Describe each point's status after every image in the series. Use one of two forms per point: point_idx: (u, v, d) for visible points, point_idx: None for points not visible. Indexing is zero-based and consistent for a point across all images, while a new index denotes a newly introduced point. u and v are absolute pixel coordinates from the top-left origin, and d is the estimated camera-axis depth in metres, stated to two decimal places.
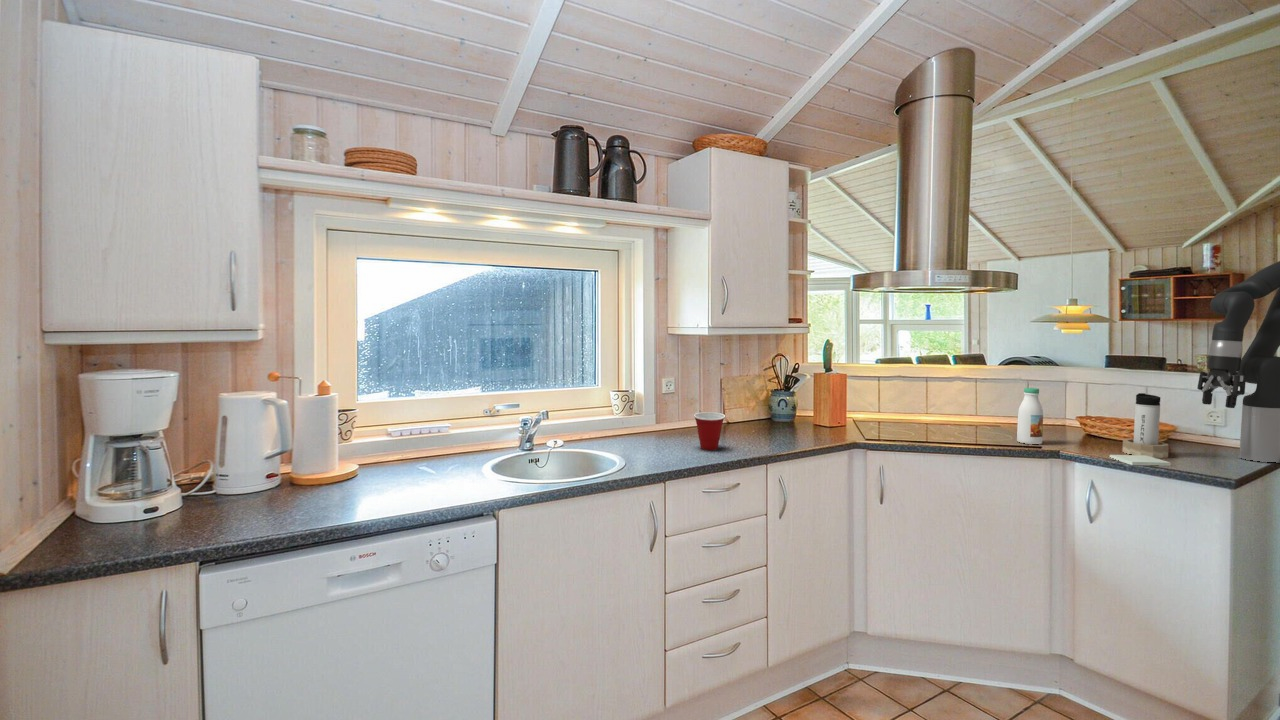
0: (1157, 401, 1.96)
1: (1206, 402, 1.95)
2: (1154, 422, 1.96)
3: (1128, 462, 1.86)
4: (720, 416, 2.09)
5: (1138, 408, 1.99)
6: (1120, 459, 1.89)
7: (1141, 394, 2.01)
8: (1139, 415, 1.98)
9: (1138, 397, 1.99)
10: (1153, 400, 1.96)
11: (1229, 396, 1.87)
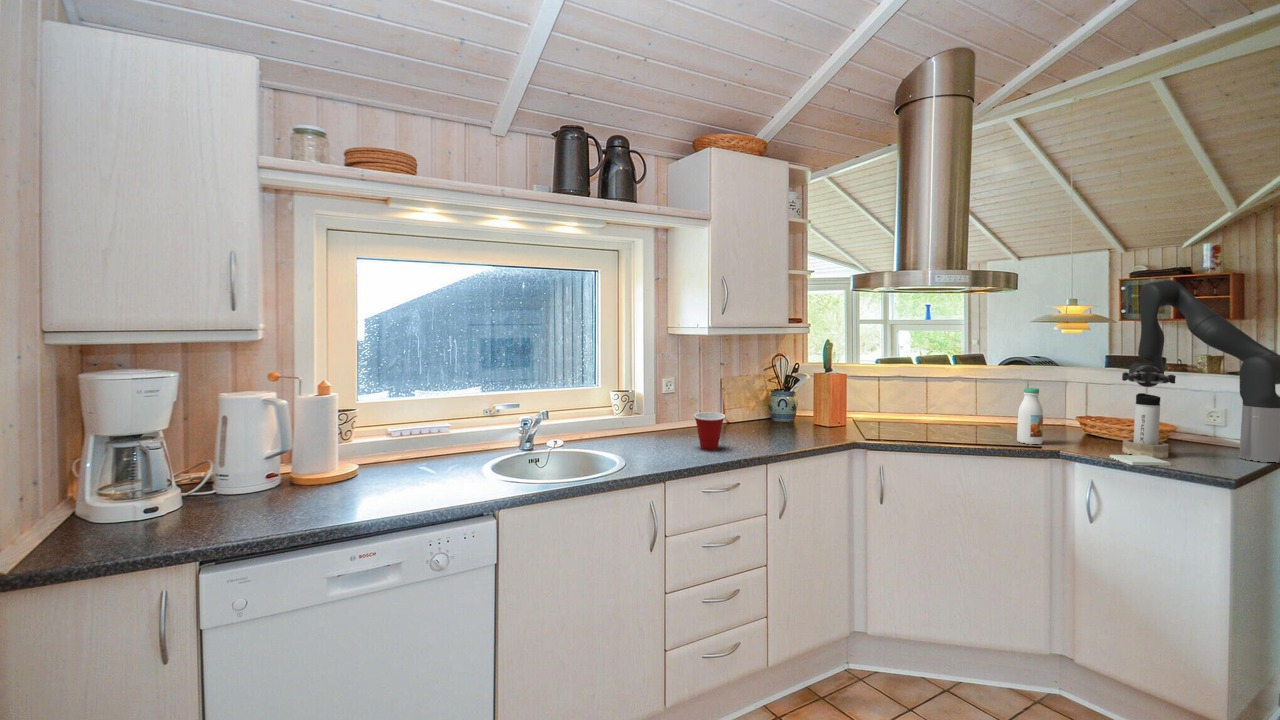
0: (1157, 401, 1.96)
1: (1163, 381, 2.05)
2: (1154, 422, 1.96)
3: (1128, 462, 1.86)
4: (720, 416, 2.09)
5: (1138, 408, 1.99)
6: (1120, 459, 1.89)
7: (1141, 394, 2.01)
8: (1139, 415, 1.98)
9: (1138, 397, 1.99)
10: (1153, 400, 1.96)
11: (1130, 380, 2.12)
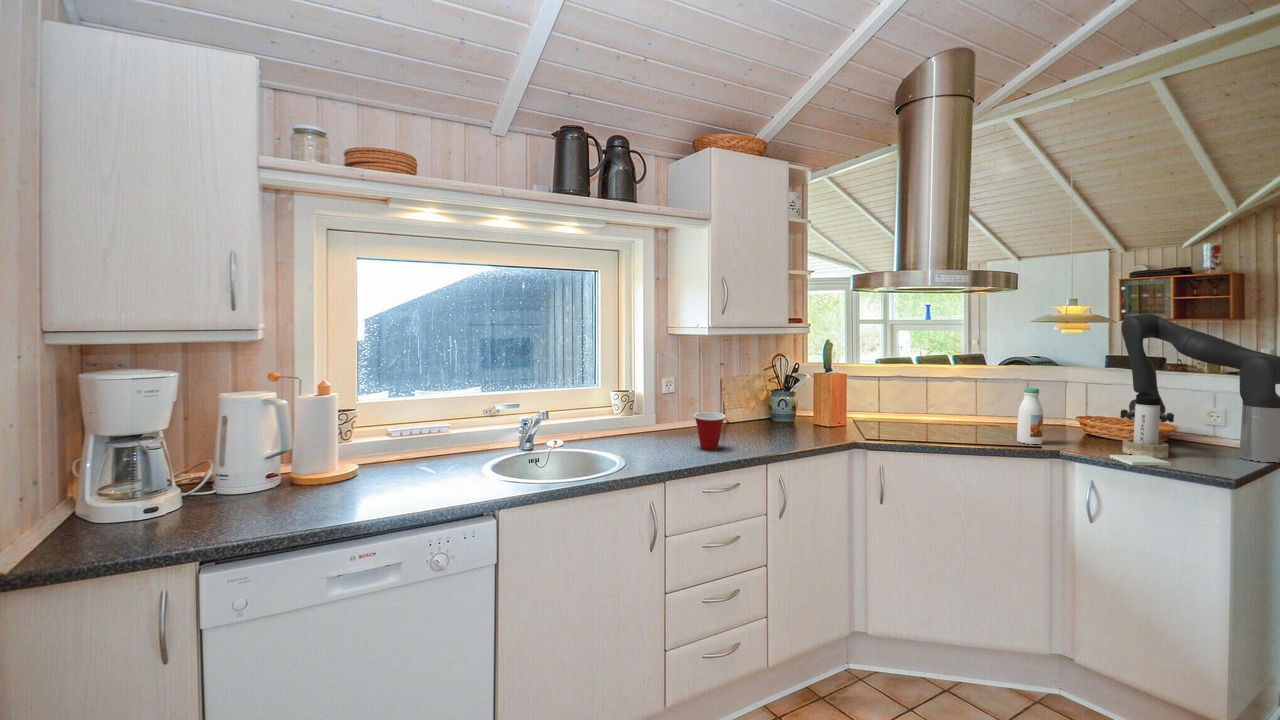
0: (1157, 401, 1.96)
1: (1161, 420, 2.04)
2: (1154, 422, 1.96)
3: (1128, 462, 1.86)
4: (720, 416, 2.09)
5: (1138, 408, 1.99)
6: (1120, 459, 1.89)
7: (1141, 394, 2.01)
8: (1139, 415, 1.98)
9: (1138, 397, 1.99)
10: (1153, 400, 1.96)
11: None
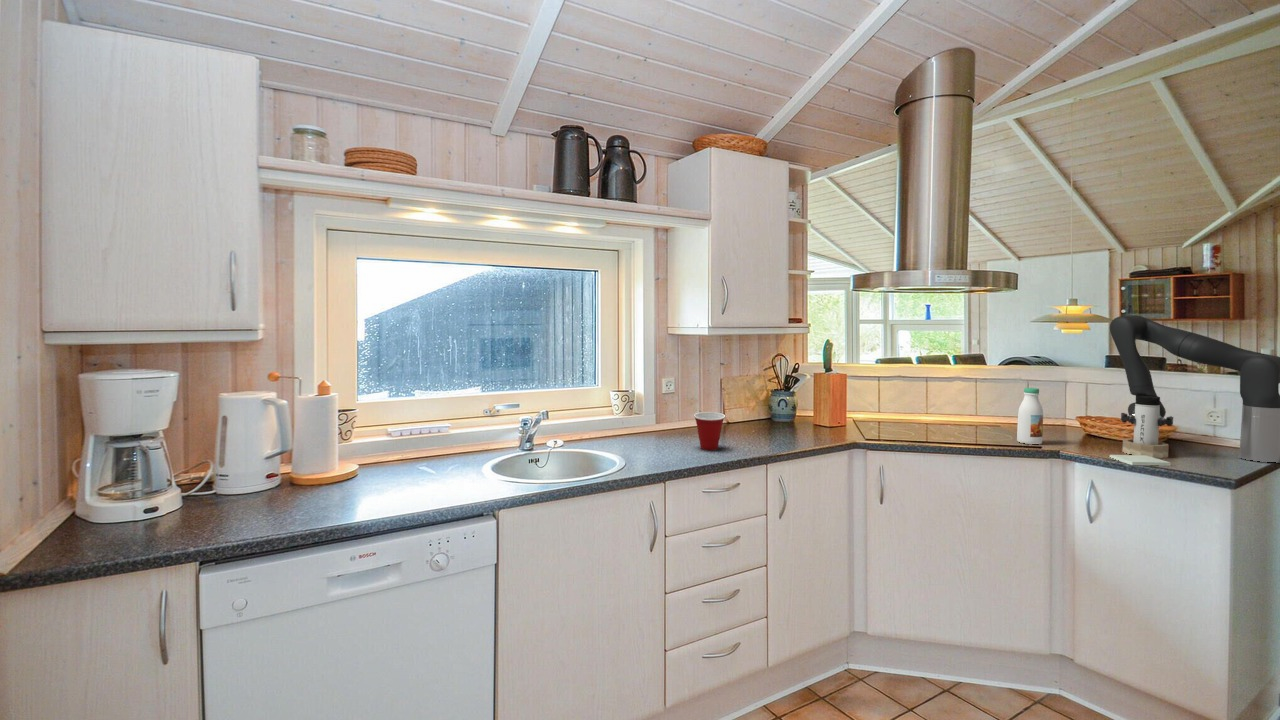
0: (1157, 401, 1.96)
1: (1159, 424, 1.96)
2: (1153, 422, 1.96)
3: (1128, 462, 1.86)
4: (720, 416, 2.09)
5: (1138, 408, 1.99)
6: (1120, 459, 1.89)
7: (1141, 394, 2.01)
8: (1139, 415, 1.98)
9: (1138, 397, 1.99)
10: (1153, 400, 1.96)
11: None
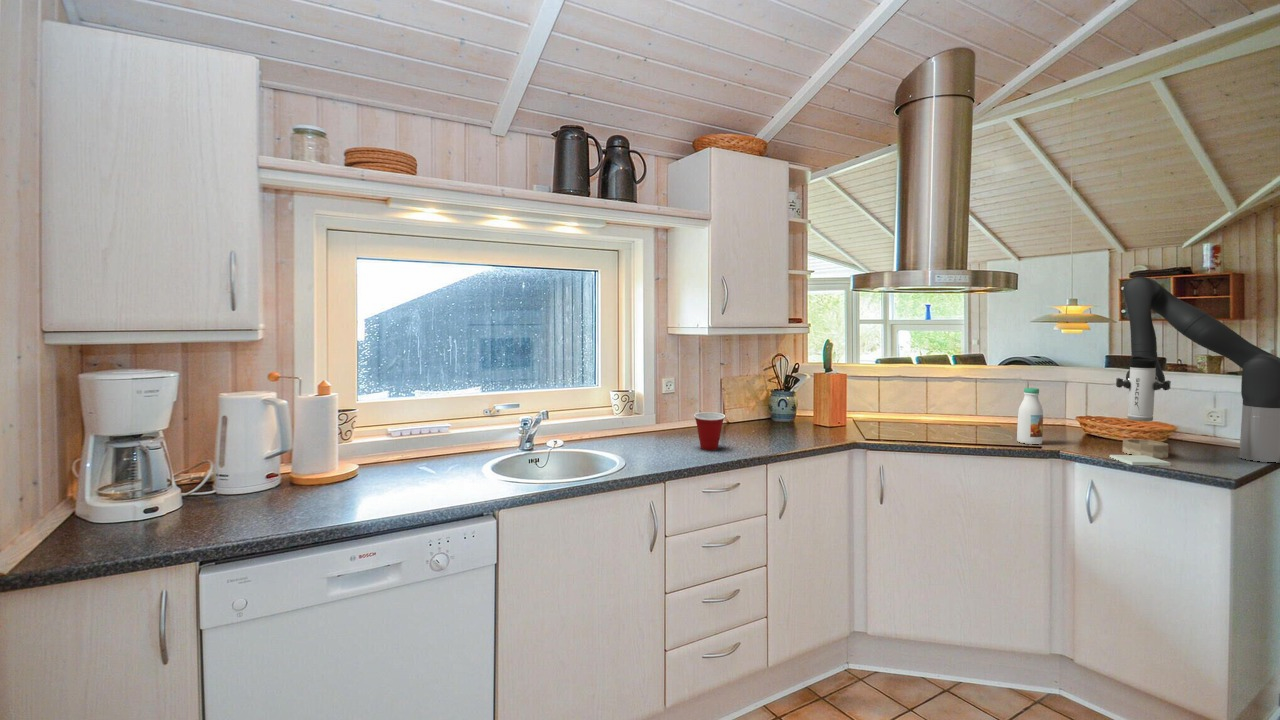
0: (1152, 364, 1.87)
1: None
2: (1149, 386, 1.88)
3: (1128, 462, 1.86)
4: (720, 416, 2.09)
5: (1132, 371, 1.90)
6: (1120, 459, 1.89)
7: (1136, 357, 1.93)
8: (1134, 379, 1.90)
9: (1132, 360, 1.90)
10: (1148, 362, 1.87)
11: (1126, 387, 1.94)
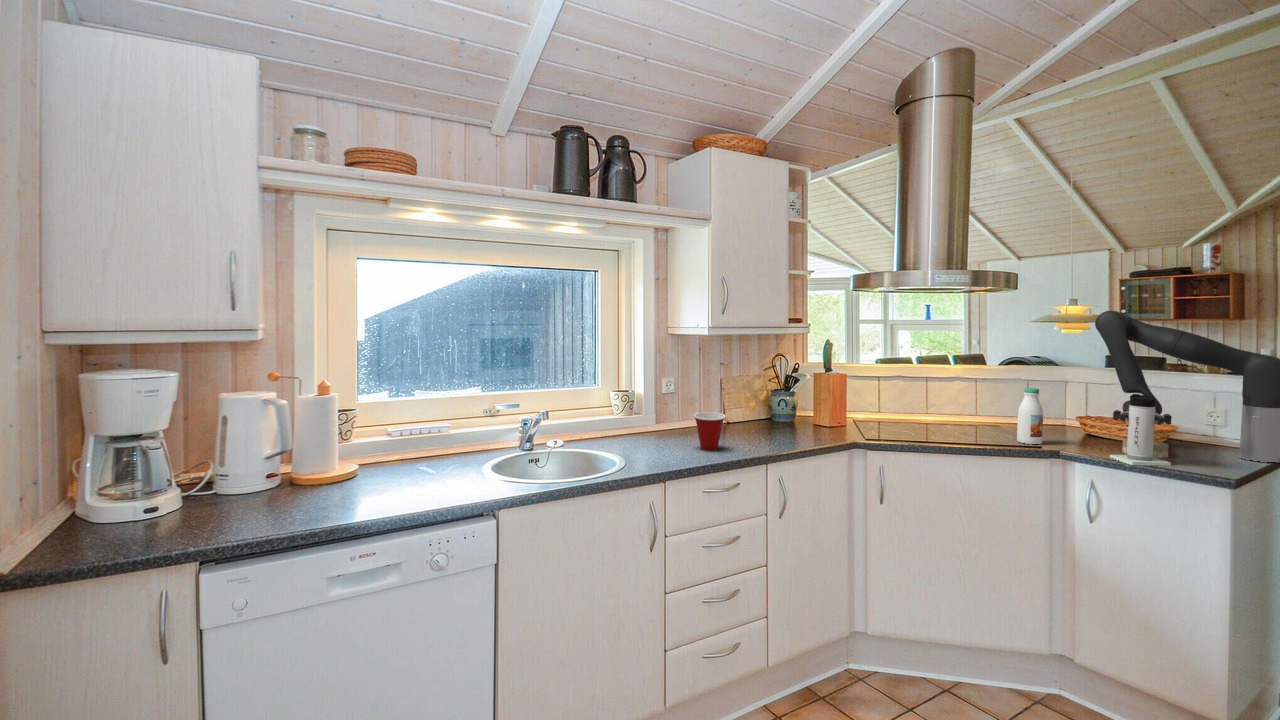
0: (1152, 402, 1.85)
1: (1157, 422, 1.85)
2: (1148, 425, 1.85)
3: (1128, 462, 1.86)
4: (720, 416, 2.09)
5: (1132, 410, 1.88)
6: (1120, 459, 1.89)
7: (1135, 395, 1.90)
8: (1133, 417, 1.87)
9: (1132, 398, 1.88)
10: (1148, 401, 1.85)
11: (1122, 419, 1.92)
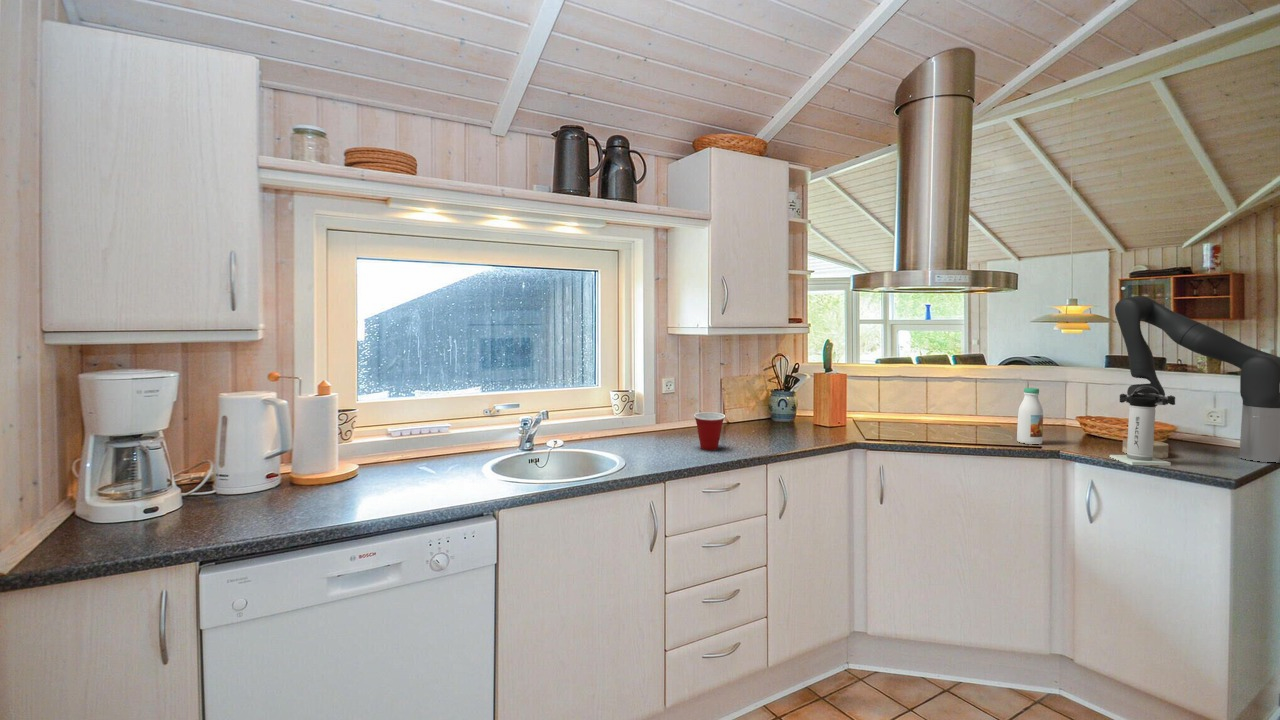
0: (1152, 402, 1.85)
1: (1162, 402, 1.95)
2: (1149, 425, 1.85)
3: (1128, 462, 1.86)
4: (720, 416, 2.09)
5: (1132, 410, 1.88)
6: (1120, 459, 1.89)
7: (1135, 395, 1.90)
8: (1133, 417, 1.87)
9: (1132, 398, 1.88)
10: (1148, 401, 1.85)
11: (1128, 402, 2.03)
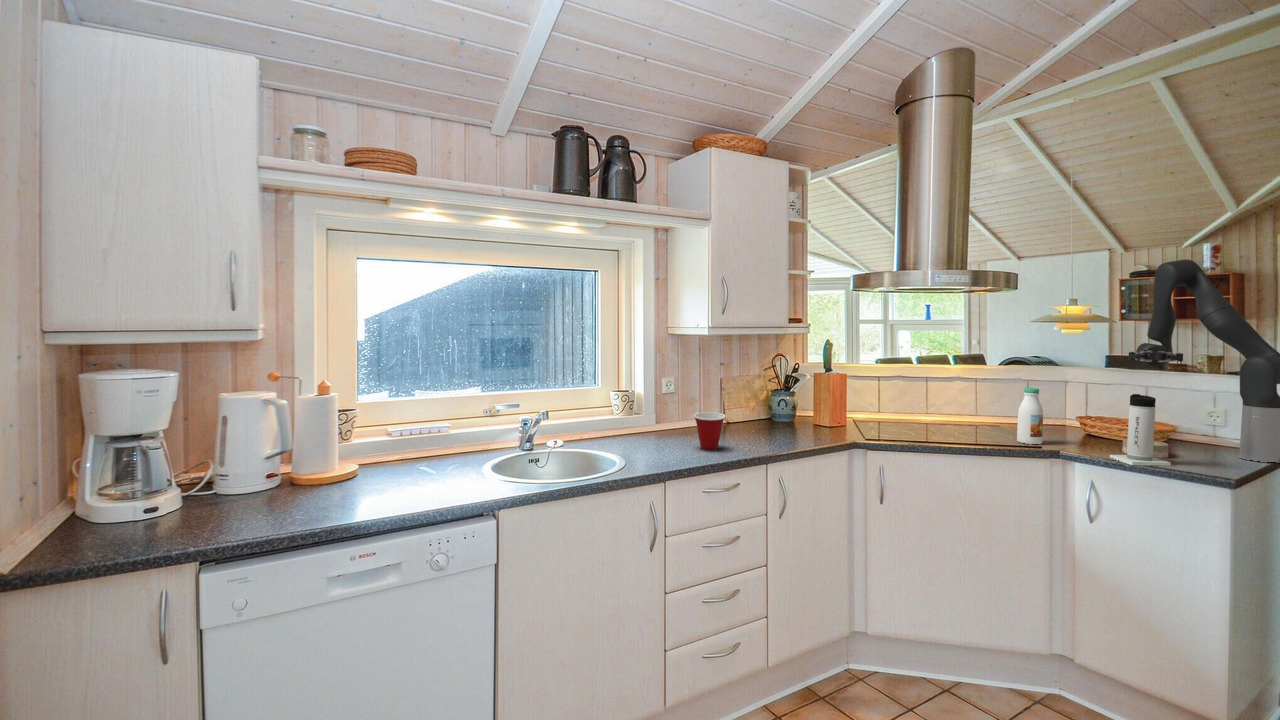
0: (1152, 402, 1.85)
1: (1170, 358, 2.00)
2: (1149, 425, 1.85)
3: (1128, 462, 1.86)
4: (720, 416, 2.09)
5: (1132, 410, 1.88)
6: (1120, 459, 1.89)
7: (1135, 395, 1.90)
8: (1133, 417, 1.87)
9: (1132, 398, 1.88)
10: (1148, 401, 1.85)
11: (1137, 359, 2.08)
